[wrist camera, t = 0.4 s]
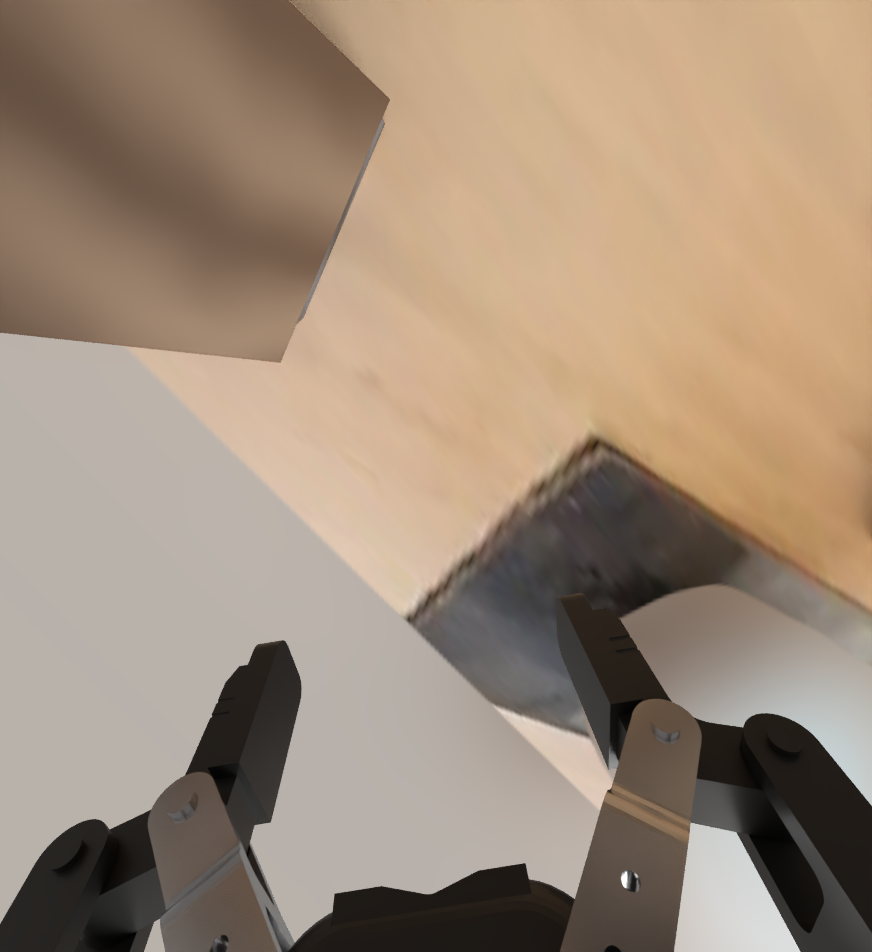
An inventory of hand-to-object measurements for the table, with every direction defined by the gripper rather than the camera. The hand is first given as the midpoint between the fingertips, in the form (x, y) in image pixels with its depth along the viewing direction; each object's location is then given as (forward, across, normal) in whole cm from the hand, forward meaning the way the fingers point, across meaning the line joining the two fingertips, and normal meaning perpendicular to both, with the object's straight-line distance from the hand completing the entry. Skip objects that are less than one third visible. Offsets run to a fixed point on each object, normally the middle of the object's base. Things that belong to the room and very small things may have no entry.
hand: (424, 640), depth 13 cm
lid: (+8, +6, -14) cm, 17 cm away
